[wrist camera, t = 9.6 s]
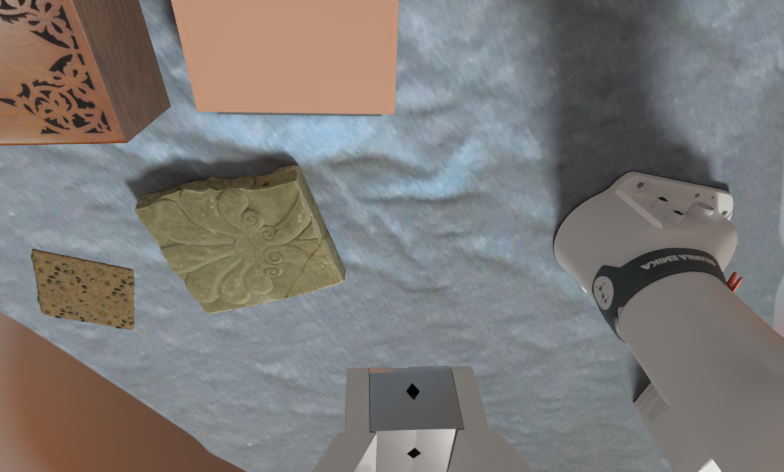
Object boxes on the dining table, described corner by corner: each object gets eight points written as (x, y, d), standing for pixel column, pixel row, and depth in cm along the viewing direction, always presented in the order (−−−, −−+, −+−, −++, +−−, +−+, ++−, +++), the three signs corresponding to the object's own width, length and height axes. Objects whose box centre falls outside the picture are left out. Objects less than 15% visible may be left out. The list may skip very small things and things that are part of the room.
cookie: (136, 266, 55) (132, 271, 55) (135, 328, 62) (133, 333, 61) (32, 245, 53) (27, 250, 52) (43, 312, 59) (39, 316, 58)
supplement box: (673, 406, 81) (729, 488, 68) (631, 403, 79) (680, 487, 67) (701, 376, 76) (766, 460, 63) (657, 373, 74) (715, 457, 62)
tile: (402, -106, 30) (143, -118, 29) (394, 114, 39) (197, 111, 38) (397, -100, 34) (171, -110, 33) (391, 97, 44) (214, 94, 42)
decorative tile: (347, 271, 58) (346, 289, 55) (212, 302, 60) (204, 320, 57) (298, 149, 47) (293, 162, 45) (136, 190, 49) (121, 205, 46)
